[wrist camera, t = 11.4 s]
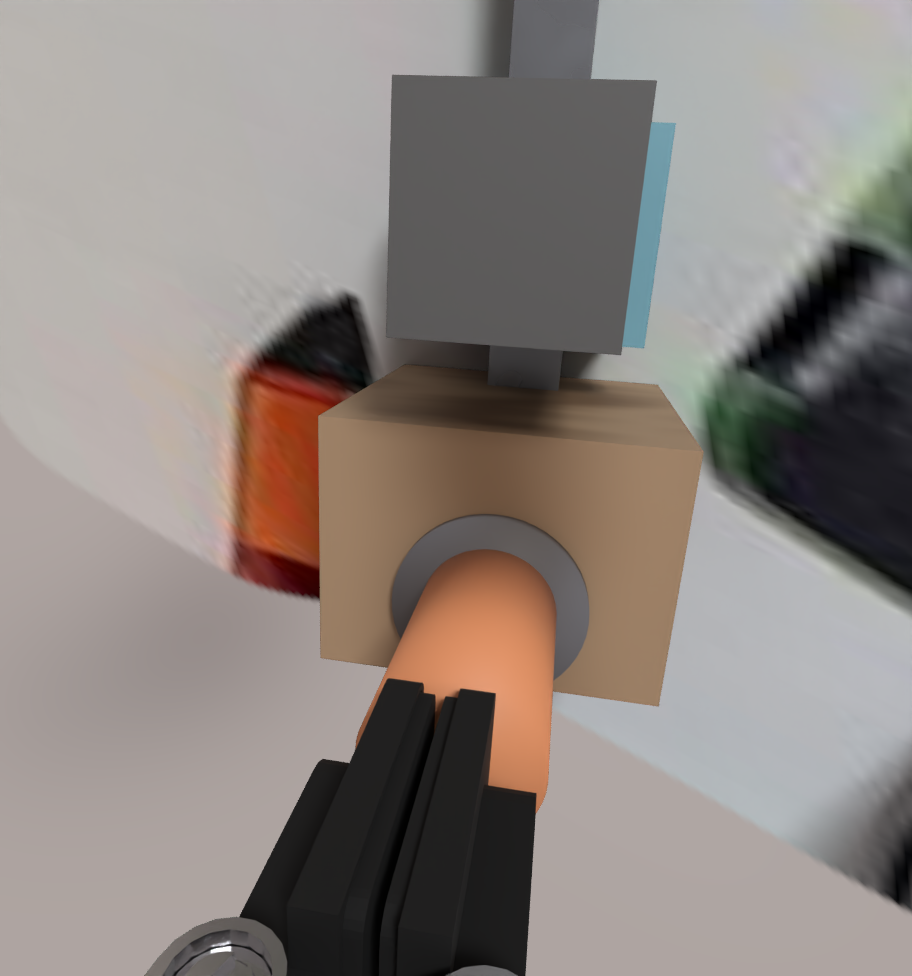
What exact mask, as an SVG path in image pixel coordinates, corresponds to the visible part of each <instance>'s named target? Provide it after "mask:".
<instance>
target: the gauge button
mask: <svg viewBox="0 0 912 976" xmlns="http://www.w3.org/2000/svg"><path fill="white" fill-rule="evenodd" d="M556 617H557V611H556V603H555V599H554V596H553V593H552V591H551V589H550V587H549V585H548V583H547V582H546V580H545V579H544V578H543V576H542V575H541V574H540V573H539V572H538V571H537V570H536V569H535V568H534V567H533V566H531V565H530V564H529V563H527V562H526V561H524V560H522V559H521V558H519V557H517V556H514V555H512V554H509V553H506V552H503V551H498V550H490V549H479V550H471V551H466V552H463V553H460V554H458V555H455V556H453V557H451V558H450V559H448V560H447V561H445V562H444V563H442V564H441V565H440V566H439V567H438V568H437V569H436V570H435V571H434V573H433V574H432V575H431V577H430V578H429V580H428V582H427V584H426V586H425V588H424V591H423V593H422V595H421V597H420V599H419V601H418V604H417V606H416V608H415V610H414V612H413V614H412V617H411V619H410V621H409V623H408V625H407V627H406V630H405V632H404V634H403V636H402V638H401V640H400V643H399V645H398V647H397V649H396V651H395V653H394V656H393V658H392V660H391V662H390V664H389V666H388V669H387V671H386V673H385V675H384V677H383V679H382V682H381V684H380V686H379V688H378V690H377V692H376V695H375V697H374V699H373V701H372V703H371V705H370V707H369V710H368V712H367V714H366V716H365V718H364V721H363V723H362V725H361V727H360V730H359V732H358V736H357V740H356V747H357V745H358V743H359V741H360V738H361V736H362V734H363V731H364V729H365V727H366V725H367V722H368V720H369V718H370V716H371V713H372V711H373V709H374V707H375V704H376V702H377V700H378V698H379V695H380V693H381V691H382V688H383V686H384V684H385V682H386V680H387V679H388V678H392V679H400V680H407V681H414V682H421V683H423V684H424V693H429V694H435V696H436V705H435V724H434V733H435V730H436V726H437V723H438V719H439V716H440V712H441V709H442V705H443V702H444V699H445V697H446V696H450V697H457V698H458V695H459V691H460V689H461V688H463V689H470V690H477V691H484V692H491V693H496V701H495V713H494V724H493V736H492V747H491V759H490V770H489V782H488V785H489V786H495V787H502V788H508V789H514V790H520V791H527V792H533V793H537V798H536V813H537V811H538V810H539V808H540V806H541V804H542V802H543V800H544V797H545V795H546V791H547V785H548V774H549V754H550V735H551V715H552V696H553V676H554V657H555V637H556ZM355 750H356V749H355Z"/></svg>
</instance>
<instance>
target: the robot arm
mask: <svg viewBox="0 0 912 976" xmlns="http://www.w3.org/2000/svg"><path fill="white" fill-rule="evenodd" d="M495 701H496V693H491V692H484V691H477V690H470V689H463V688H461V689H460V691H459V695H458V698H457V697H450V696H446V697H445V699H444V702H443V705H442V709H441V712H440V716H439V719H438V723H437V726H436V730H435V733H434V724H435V705H436V696H435V694H429V693H424V684H423V683H421V682H414V681H407V680H400V679H392V678H388V679H387V680H386V682H385V684H384V686H383V688H382V691H381V693H380V695H379V698H378V700H377V702H376V704H375V707H374V709H373V711H372V713H371V716H370V718H369V720H368V722H367V725H366V727H365V729H364V731H363V734H362V736H361V738H360V741H359V743H358V745H357V747H356V750H355V752H354V754H353V756H352V759H351V761H350V763H345V762H339V761H332V760H326V759H322V760H321V761H319V762H318V764H317V765H316V767H315V769H314V770H313V772H312V774H311V776H310V778H309V780H308V782H307V784H306V786H305V788H304V790H303V792H302V794H301V796H300V798H299V800H298V802H297V804H296V806H295V808H294V810H293V812H292V814H291V816H290V818H289V820H288V822H287V824H286V826H285V828H284V829H283V832H282V833H281V836H280V837H279V839H278V841H277V843H276V845H275V848H274V849H273V851H272V853H271V855H270V857H269V859H268V861H267V863H266V865H265V867H264V869H263V871H262V873H261V875H260V877H259V879H258V881H257V883H256V885H255V887H254V889H253V891H252V893H251V895H250V897H249V899H248V901H247V903H246V904H245V907H244V908H243V910H242V912H241V914H240V917H230V918H221V919H215V920H212V921H209V922H207V923H204V924H201V925H198V926H196V927H194V928H192V929H191V930H189V931H188V932H186V933H185V934H183V935H182V936H180V937H179V938H177V939H176V940H174V941H173V942H172V943H171V945H170V946H169V947H168V948H167V949H166V950H165V951H164V952H163V953H162V954H161V955H160V956H159V957H158V958H157V960H156V961H155V962H154V963H153V965H152V966H151V968H150V969H149V970H148V971H147V973H146V974H145V975H144V976H525V971H526V957H527V940H528V925H529V910H530V894H531V877H532V862H533V845H534V830H535V815H536V798H537V793H533V792H527V791H520V790H514V789H508V788H502V787H495V786H489V785H488V782H489V770H490V759H491V747H492V736H493V724H494V713H495Z"/></svg>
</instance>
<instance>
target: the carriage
mask: <svg viewBox="0 0 912 976" xmlns="http://www.w3.org/2000/svg"><path fill="white" fill-rule="evenodd" d="M656 83H657V81H653V80H606V79H560V78H514V77H467V76H421V75H392V98H391V144H390V189H389V234H388V280H387V325H386V337H388V338H401V339H414V340H427V341H441V342H454V343H467V344H480V345H494V346H507V347H520V348H533V349H547V350H560V351H573V352H586V353H600V354H613V355H621V351H622V347H635V348H644V345H645V338H646V331H647V324H648V317H649V310H650V303H651V295H652V288H653V281H654V274H655V267H656V260H657V253H658V246H659V239H660V232H661V224H662V217H663V210H664V203H665V196H666V189H667V182H668V175H669V168H670V161H671V154H672V146H673V139H674V132H675V125H676V123H656V122H652V114H653V106H654V99H655V91H656Z"/></svg>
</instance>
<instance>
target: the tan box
mask: <svg viewBox="0 0 912 976" xmlns="http://www.w3.org/2000/svg"><path fill="white" fill-rule="evenodd" d="M487 382H488V371H479V370H467V369H455V368H442V367H430V366H417V365H403V366H401V367H400V368H398V369H396V370H395V371H393V372H391V373H390V374H388V375H386V376H385V377H383V378H381V379H380V380H378V381H376V382H375V383H373V384H371V385H369V386H368V387H366V388H364V389H363V390H361V391H359V392H358V393H356V394H354V395H353V396H351V397H349V398H348V399H346V400H344V401H343V402H341V403H339V404H338V405H336V406H334V407H333V408H331V409H329V410H327V411H326V412H324V413H322V414H321V415H319V416H318V437H319V543H320V641H321V642H320V644H321V645H320V647H321V648H320V649H321V658H324V659H331V660H338V661H345V662H352V663H359V664H366V665H373V666H380V667H387V668H388V666H389V664H390V662H391V660H392V658H393V656H394V653H395V651H396V649H397V647H398V645H399V643H400V640H401V638H402V636H403V634H404V632H405V630H406V627H407V625H408V623H409V621H410V619H411V617H412V614H413V612H414V610H415V608H416V606H417V604H418V601H419V599H420V597H421V595H422V593H423V591H424V588H425V586H426V584H427V582H428V580H429V578H430V577H431V575H432V574H433V573H434V571H435V570H436V569H437V568H438V567H439V566H440V565H441V564H442V563H444V562H445V561H447V560H448V559H450V558H451V557H453V556H455V555H458V554H460V553H463V552H466V551H471V550H479V549H490V550H498V551H503V552H506V553H509V554H512V555H514V556H517V557H519V558H521V559H522V560H524V561H526V562H527V563H529V564H530V565H531V566H533V567H534V568H535V569H536V570H537V571H538V572H539V573H540V574H541V575H542V576H543V578H544V579H545V580H546V582H547V583H548V585H549V587H550V589H551V591H552V593H553V596H554V599H555V603H556V611H557V617H556V637H555V657H554V676H553V691H554V692H561V693H568V694H575V695H582V696H589V697H596V698H603V699H610V700H617V701H624V702H631V703H638V704H645V705H652V706H659V701H660V695H661V689H662V684H663V678H664V672H665V667H666V661H667V655H668V650H669V644H670V639H671V633H672V627H673V622H674V616H675V610H676V605H677V599H678V593H679V588H680V582H681V576H682V571H683V565H684V559H685V554H686V548H687V542H688V537H689V531H690V525H691V520H692V514H693V508H694V503H695V497H696V491H697V486H698V480H699V474H700V469H701V463H702V457H703V450H702V449H701V447H700V446H699V444H698V443H697V441H696V440H695V439H694V437H693V436H692V434H691V433H690V431H689V430H688V428H687V427H686V425H685V424H684V422H683V421H682V420H681V418H680V417H679V415H678V414H677V412H676V411H675V409H674V408H673V406H672V405H671V403H670V402H669V401H668V399H667V398H666V396H665V395H664V393H663V392H662V390H661V389H660V387H659V386H658V385H653V384H640V383H628V382H616V381H603V380H591V379H578V378H566V377H560V380H559V388H558V391H554V390H542V389H530V388H518V387H506V386H494V385H487Z"/></svg>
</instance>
